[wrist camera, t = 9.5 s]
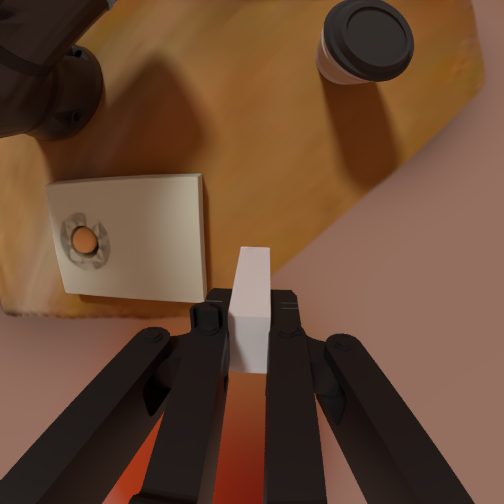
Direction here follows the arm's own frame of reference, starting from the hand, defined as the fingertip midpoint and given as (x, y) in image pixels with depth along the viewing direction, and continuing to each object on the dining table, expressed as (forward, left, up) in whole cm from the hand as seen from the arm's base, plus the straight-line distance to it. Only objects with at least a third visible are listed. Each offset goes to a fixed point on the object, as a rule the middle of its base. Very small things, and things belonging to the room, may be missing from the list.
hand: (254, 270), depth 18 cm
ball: (+8, -26, -24) cm, 36 cm away
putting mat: (+8, -20, -27) cm, 34 cm away
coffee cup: (-17, +10, -27) cm, 33 cm away
